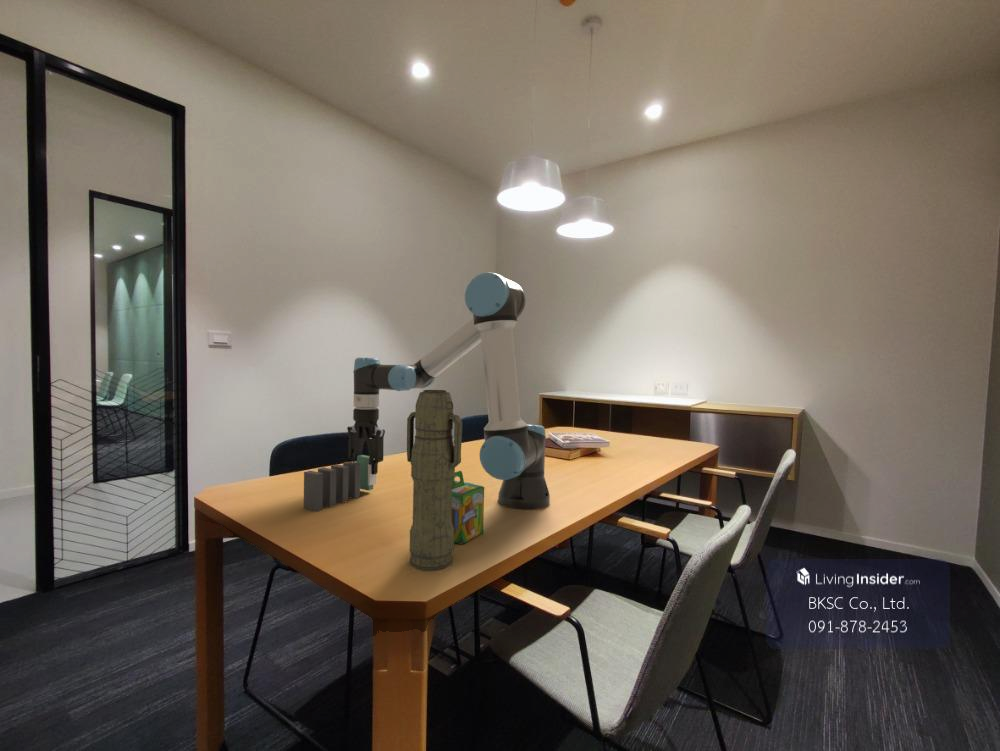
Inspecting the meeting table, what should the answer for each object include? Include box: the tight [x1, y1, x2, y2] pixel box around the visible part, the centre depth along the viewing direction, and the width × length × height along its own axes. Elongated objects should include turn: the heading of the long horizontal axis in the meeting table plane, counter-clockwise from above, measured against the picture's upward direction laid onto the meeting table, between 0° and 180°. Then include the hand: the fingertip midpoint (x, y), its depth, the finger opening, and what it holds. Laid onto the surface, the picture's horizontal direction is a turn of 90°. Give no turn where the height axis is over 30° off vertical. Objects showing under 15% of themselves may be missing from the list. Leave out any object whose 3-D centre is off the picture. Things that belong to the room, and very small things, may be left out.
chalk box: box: [452, 470, 485, 545], centre depth 106 cm, size 9×9×15 cm
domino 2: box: [317, 467, 337, 508], centre depth 125 cm, size 2×5×10 cm, turn 62°
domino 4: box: [342, 461, 361, 499], centre depth 133 cm, size 2×5×10 cm, turn 62°
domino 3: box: [330, 464, 349, 503], centre depth 129 cm, size 2×5×10 cm, turn 62°
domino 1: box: [303, 470, 323, 513], centre depth 121 cm, size 2×5×10 cm, turn 61°
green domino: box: [357, 454, 374, 492], centre depth 138 cm, size 2×5×10 cm, turn 62°
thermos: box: [406, 389, 463, 572], centre depth 91 cm, size 9×12×35 cm
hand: (365, 482), depth 138 cm, fingers closed on green domino, 5 cm apart
